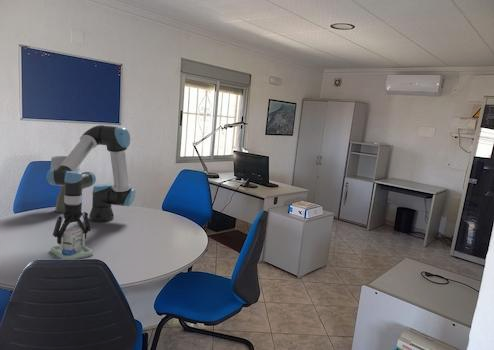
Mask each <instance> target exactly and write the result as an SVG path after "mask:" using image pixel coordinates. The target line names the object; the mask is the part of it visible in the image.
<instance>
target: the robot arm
mask: <svg viewBox="0 0 494 350" xmlns="http://www.w3.org/2000/svg"><path fill="white" fill-rule="evenodd" d="M130 144H131V134H130V132H129V131H128V129H127V128H126V127H121V126H114V125H113V126H111V125H104V124H100V125H95V126H92V127H90V128H89V129H87V130H86V131H85V132H83V134H81V136H80V138H79V142H78V143H77V144H76V145H75V146H74V148H73V149H72V150H71V151H70V152H69V154H68V155H67V158H66V159H65V160H64V161H63V162H62V164H61V165H60V166H59V167H58V168H57V170H56V169H51V168H50V169H51V170H50V169H49V170H48V171H47V174H46V176H45V177H46V181H47V182H48V184H49V183H50V184H49V185H51V184H55V185H54V186H56V185H65V195H64V203H65V204H64V213H62V214H61V215H56V222H55V226H54V228H53V229H54V230H53V232H52V236H53V237H54V238H56V242H57V244H58V245H59V249H60V250H61V251H62V250H63V237H62V235H63V233H64V231H65V230H66V229H68V226H69V225H70V224H71V223H76V224H78V227H80V228H82V246H85V245H86V244H85V243H86V242H85V241H86V239H87V234H88V232H90V231H91V225H90V221H91V222H99V223H101V222H102V223H105V222H110V221H113V220H114V218H115V216H114V215H115V214H114V212H113V208H112V206H121V207H131V206H132V205H133V203H134V201H135V198H136V190H135V189H134V188H132V185H131V183H129V176H128V168H127V167H128V166H127V159H126V150H128V148H129V146H130ZM99 145H100V146H101V145H102V146H105V147H106V150H107V151H108V152H109V153H110V162H111V169H112V177H113V178H112V179H113V184H114V185H113V184H112V183H99V184H96V180H97V177H96V175H95V174H94V173H93V172H91V171H84V172H82V171H80V172H79V171H76V169H77V168H78V167H79V165H80V166H81V164H82V162H83V161H85V159H86V158H87V156H88V155H89V153H90V152H91V151H92V150H93V149H95V148H96V147H97V146H99ZM94 184H95V185H94ZM92 186H93V188H92V203H91V205H92V206H91V207H92V208H91V210H90V213H87V212H86V211H83V212H82V208H83V206H82V205H83V204H82V202H83V189H86V188H89V187H92ZM81 217H82V219H83V222H84V224H83V222H82V220H81ZM63 219H64V221H63Z"/></svg>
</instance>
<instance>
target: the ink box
mask: <svg viewBox="0 0 494 350" xmlns="http://www.w3.org/2000/svg"><path fill="white" fill-rule="evenodd" d="M82 232H83V231H82V228H80V226H75V225H74V226H70V227H67V228H66V230H65V231H64V233H63V235H62V237H63V250H62V254H65V255H72V254H74V253H76V252H78V251H80V250H82Z"/></svg>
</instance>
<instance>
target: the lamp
mask: <svg viewBox="0 0 494 350" xmlns="http://www.w3.org/2000/svg"><path fill="white" fill-rule="evenodd" d="M67 156H68V155H67ZM67 156H66V155H65V156H64V155H63V156H61V155H59V156H58V155H57V156H52V157H51V160H50V162H51V163H50V169H49V170H51V169H56V170H57V168H58V167H59V166H60V165H61V164H62V162H63V161H64V160H65V159H66V158H67ZM80 166H81V164H80V165H79V167H78V168H77V169H76V171H79V172H81V170H80ZM48 184H49V185H52V186H57V187H58V186H60V187H59V189H60V191H59V192H58V195H57V198H56V204H55V208H54V209H55V210H54V212H56V213H58V214H64V204H65V203H64V195H65V185H55V184H50V183H48Z"/></svg>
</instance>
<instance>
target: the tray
mask: <svg viewBox="0 0 494 350" xmlns="http://www.w3.org/2000/svg"><path fill="white" fill-rule="evenodd" d="M50 252H51V253H52V254H54V255H55V256H57V257H58V258H59V259H60V260H61V259H75V260H79V259H85V258H87V257H91V256H93V255H94V251H93V250H92V249H90V248H89V247H87V246H86V245H84V246H82V250H80V251H78V252H76V253H74V254H72V255H65V254H62V251H61V250H60V249H59V244H58V245H53V246H50Z"/></svg>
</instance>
